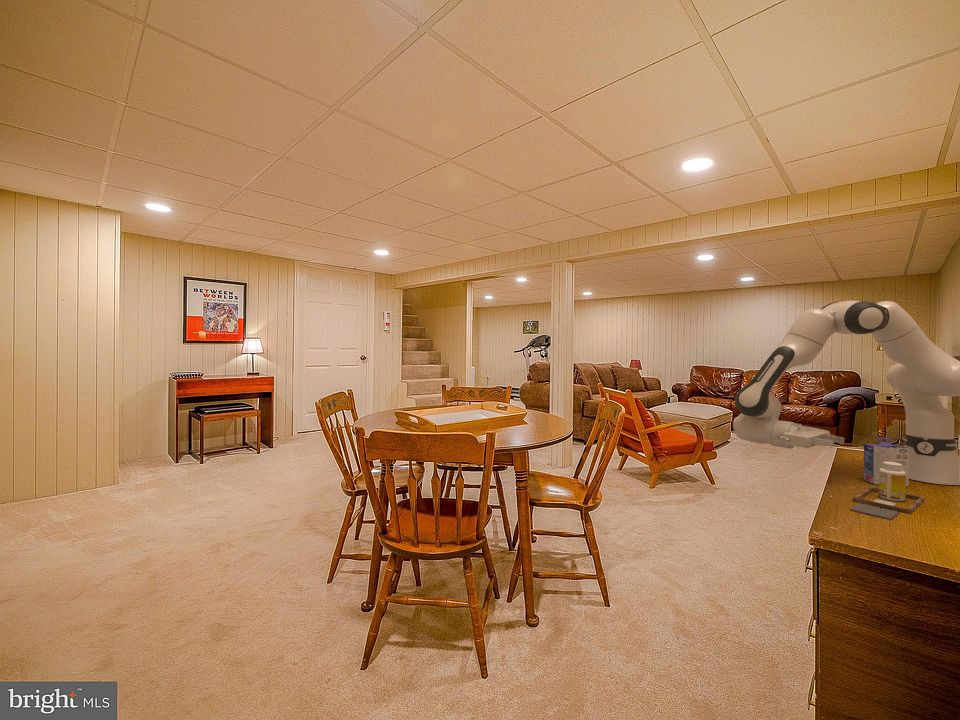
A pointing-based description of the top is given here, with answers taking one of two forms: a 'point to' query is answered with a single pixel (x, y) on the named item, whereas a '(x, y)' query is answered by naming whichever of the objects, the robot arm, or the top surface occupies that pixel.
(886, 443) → the ink cartridge box
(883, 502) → the flat tile
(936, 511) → the top surface
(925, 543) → the top surface
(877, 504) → the brown rectangular frame
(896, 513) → the pad
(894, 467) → the supplement bottle
